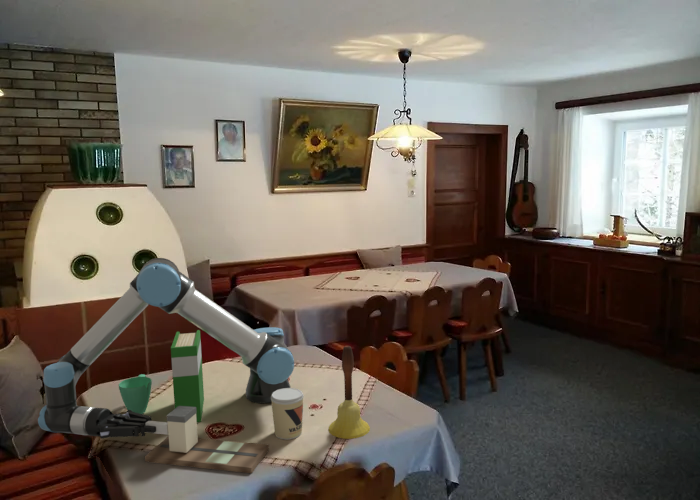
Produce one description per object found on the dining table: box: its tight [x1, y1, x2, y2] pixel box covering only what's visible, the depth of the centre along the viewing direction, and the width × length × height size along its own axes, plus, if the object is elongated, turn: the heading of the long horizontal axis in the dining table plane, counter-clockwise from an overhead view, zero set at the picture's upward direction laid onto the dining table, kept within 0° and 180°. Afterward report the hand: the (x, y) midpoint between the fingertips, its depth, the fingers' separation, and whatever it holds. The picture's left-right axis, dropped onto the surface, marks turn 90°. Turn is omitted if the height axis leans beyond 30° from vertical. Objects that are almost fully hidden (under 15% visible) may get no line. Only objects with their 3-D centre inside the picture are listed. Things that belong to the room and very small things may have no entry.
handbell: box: [327, 345, 371, 440], centre depth 158 cm, size 12×12×25 cm
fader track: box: [144, 435, 270, 474], centre depth 145 cm, size 30×12×2 cm, turn 77°
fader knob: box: [166, 406, 199, 453], centre depth 146 cm, size 5×6×10 cm
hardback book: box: [170, 329, 205, 423], centre depth 172 cm, size 18×7×24 cm, turn 12°
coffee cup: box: [271, 387, 305, 440], centre depth 156 cm, size 9×9×12 cm
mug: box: [118, 373, 153, 414], centre depth 175 cm, size 15×10×10 cm
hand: (168, 428), depth 147 cm, fingers closed
